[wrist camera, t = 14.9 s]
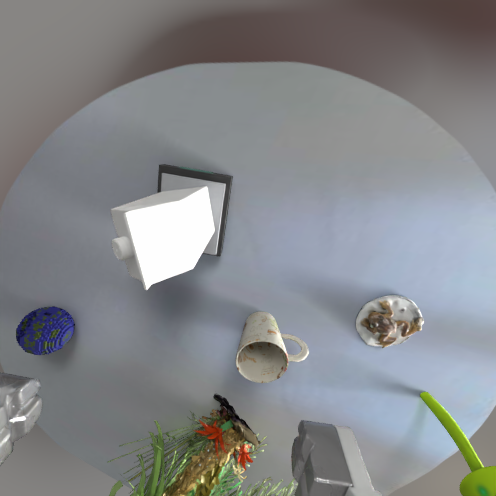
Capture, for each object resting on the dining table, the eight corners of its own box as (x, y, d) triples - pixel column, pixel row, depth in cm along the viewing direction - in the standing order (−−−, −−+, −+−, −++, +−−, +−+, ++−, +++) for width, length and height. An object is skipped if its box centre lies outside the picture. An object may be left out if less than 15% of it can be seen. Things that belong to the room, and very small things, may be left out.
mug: (241, 303, 49) (238, 337, 39) (307, 311, 49) (320, 347, 40) (237, 339, 52) (233, 380, 42) (299, 346, 52) (309, 388, 42)
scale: (164, 163, 41) (157, 163, 38) (232, 175, 41) (231, 176, 39) (160, 241, 45) (153, 246, 42) (222, 251, 46) (219, 257, 43)
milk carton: (207, 185, 39) (166, 208, 21) (215, 231, 41) (184, 286, 23) (161, 191, 40) (83, 218, 22) (171, 236, 42) (108, 293, 24)
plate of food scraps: (341, 329, 50) (348, 342, 46) (383, 282, 47) (394, 292, 43) (386, 356, 52) (396, 370, 48) (430, 312, 48) (445, 324, 45)
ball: (78, 340, 53) (49, 369, 46) (40, 329, 52) (5, 356, 45) (83, 308, 50) (54, 333, 43) (43, 296, 50) (7, 319, 42)
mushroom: (419, 374, 53) (551, 547, 29) (453, 388, 54) (608, 566, 30) (396, 402, 56) (499, 581, 32) (428, 414, 57) (553, 598, 33)
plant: (316, 486, 55) (181, 653, 46) (233, 372, 74) (126, 475, 65) (301, 505, 32) (29, 841, 23) (186, 332, 51) (12, 482, 42)
